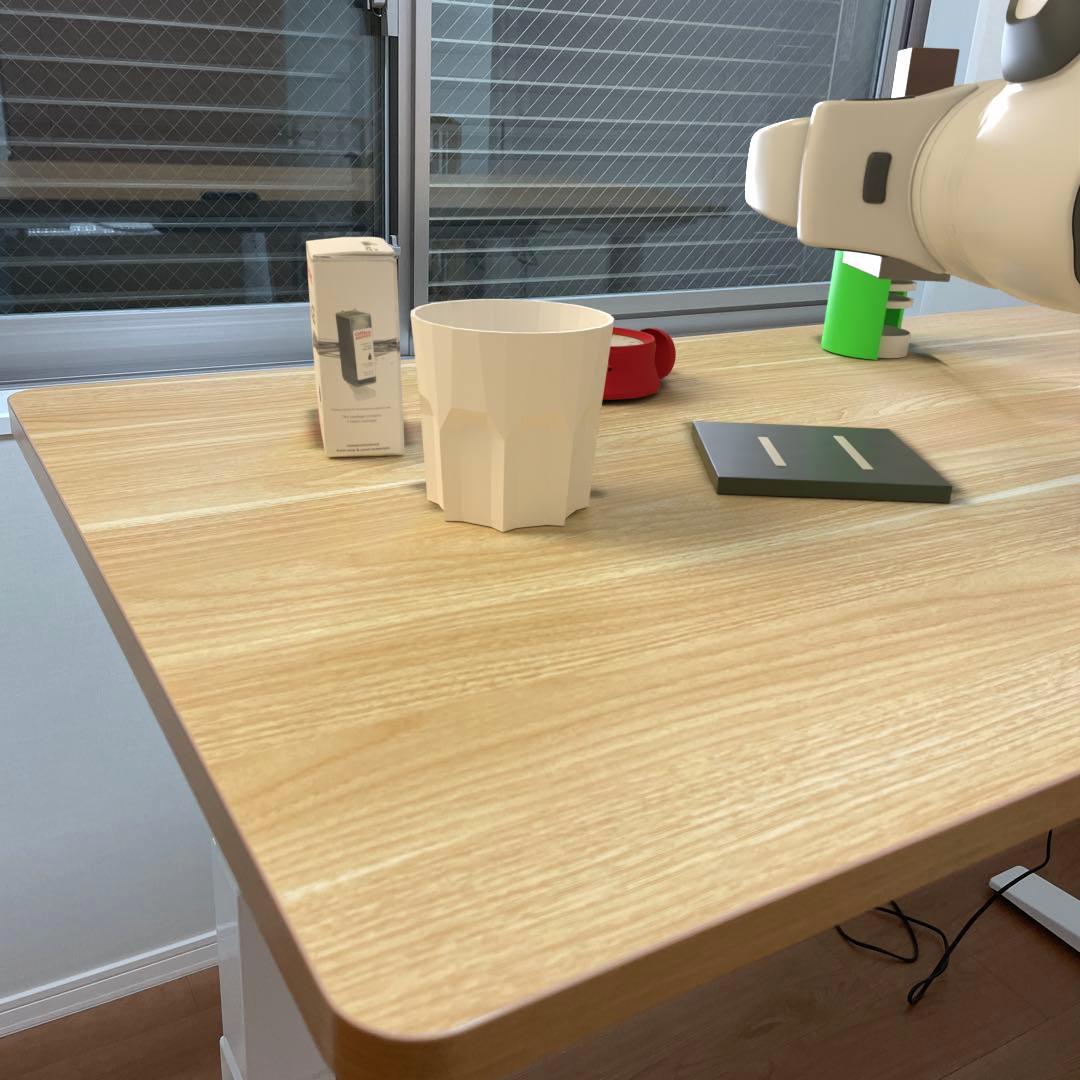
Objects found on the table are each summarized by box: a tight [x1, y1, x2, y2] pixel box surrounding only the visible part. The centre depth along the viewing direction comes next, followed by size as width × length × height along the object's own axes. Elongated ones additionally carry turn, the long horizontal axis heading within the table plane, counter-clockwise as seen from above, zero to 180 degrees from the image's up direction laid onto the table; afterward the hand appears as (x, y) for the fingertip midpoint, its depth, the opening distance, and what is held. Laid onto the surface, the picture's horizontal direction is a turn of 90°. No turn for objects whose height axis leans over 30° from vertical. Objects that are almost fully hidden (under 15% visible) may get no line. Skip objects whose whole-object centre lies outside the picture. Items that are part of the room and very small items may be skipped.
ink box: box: [305, 236, 405, 458], centre depth 63 cm, size 9×5×12 cm, turn 14°
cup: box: [410, 298, 615, 533], centre depth 53 cm, size 10×10×10 cm
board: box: [690, 420, 954, 504], centre depth 63 cm, size 13×12×1 cm
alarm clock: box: [603, 326, 677, 401], centre depth 81 cm, size 10×6×15 cm
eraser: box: [843, 46, 960, 283], centre depth 59 cm, size 8×4×12 cm, turn 179°
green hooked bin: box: [820, 250, 918, 361], centre depth 96 cm, size 9×8×18 cm
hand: (903, 173), depth 60 cm, fingers closed on eraser, 2 cm apart
